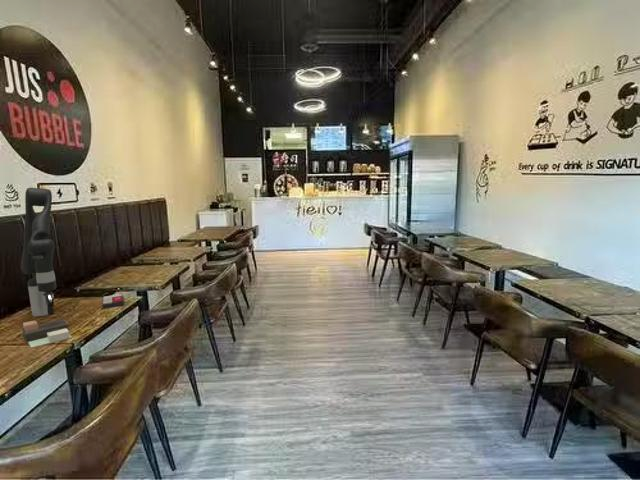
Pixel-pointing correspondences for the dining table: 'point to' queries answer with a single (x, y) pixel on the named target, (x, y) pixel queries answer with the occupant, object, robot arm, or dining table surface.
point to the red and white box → (112, 301)
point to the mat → (42, 342)
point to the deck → (44, 330)
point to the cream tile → (58, 335)
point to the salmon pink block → (30, 326)
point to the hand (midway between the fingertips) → (50, 314)
